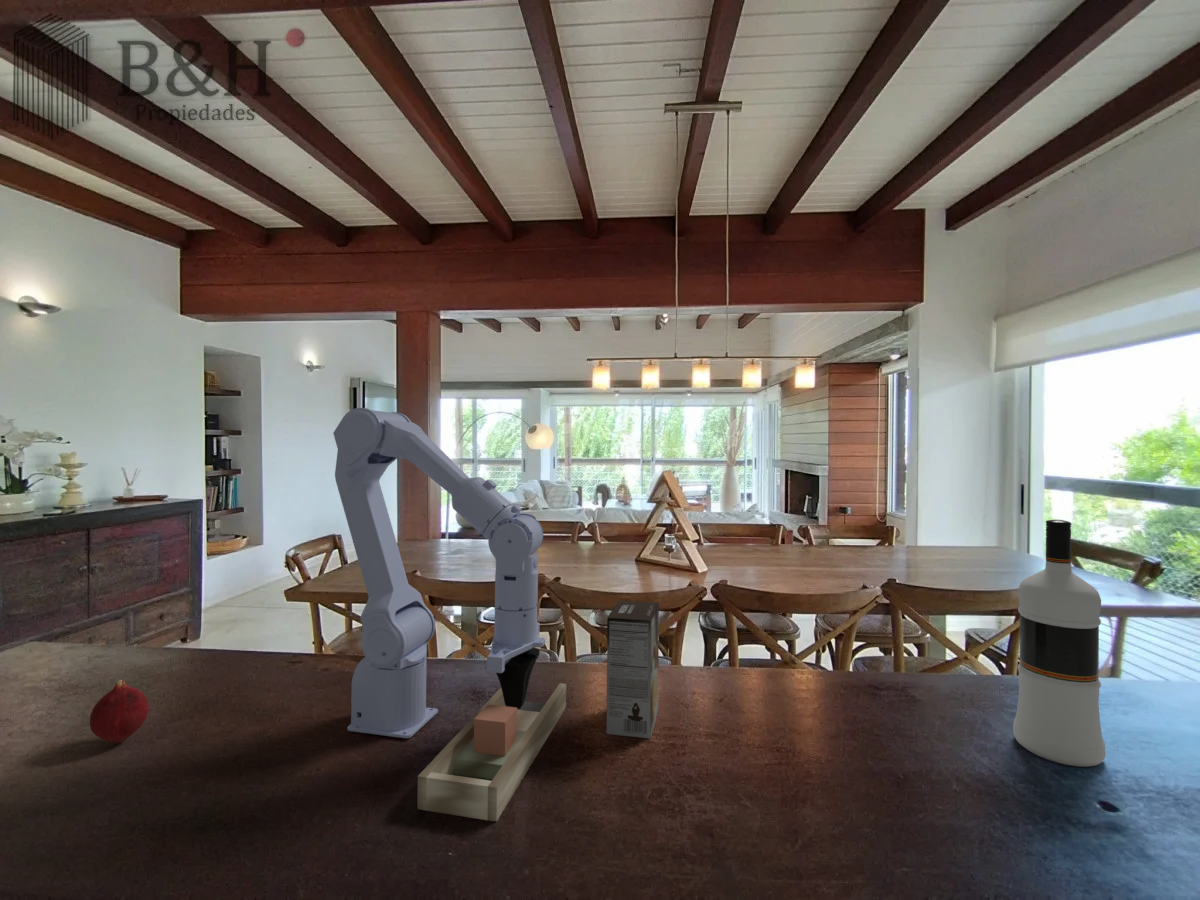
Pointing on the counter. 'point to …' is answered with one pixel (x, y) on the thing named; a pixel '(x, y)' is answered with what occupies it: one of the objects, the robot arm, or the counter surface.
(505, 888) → the counter surface
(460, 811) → the trap lane
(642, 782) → the counter surface
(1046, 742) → the vodka
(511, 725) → the block
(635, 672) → the coffee box
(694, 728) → the counter surface
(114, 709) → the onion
